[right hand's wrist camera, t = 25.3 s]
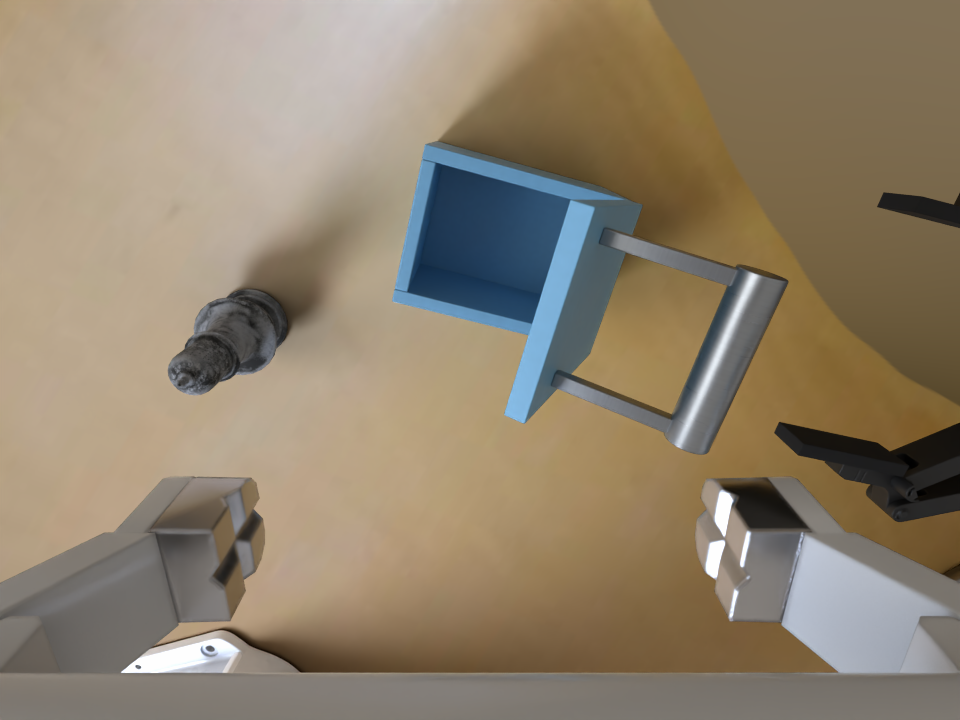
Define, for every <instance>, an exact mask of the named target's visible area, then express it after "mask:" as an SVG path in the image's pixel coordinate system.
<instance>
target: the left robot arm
mask: <svg viewBox="0 0 960 720" xmlns="http://www.w3.org/2000/svg"><path fill="white" fill-rule="evenodd" d="M877 207H879V208H883V209H887V210H891V211H895V212H899V213H903V214H907V215H911V216H915V217H919V218H923V219H926V220H931V221H934V222H938V223H942V224H946V225H950V226H954V227H958V228H960V194H959V196H958V198H957V200H956V202H955V204H954V205H953V204H949V203H945V202H941V201H937V200H933V199H929V198H926V197H921V196H912V195H903V194H893V193H883V195H882V197H881V200H880V202H879V204H878V206H877ZM774 433H775V434H776V435H777V436H778V437H779V438H780V439H781V440H782V441H783V442H785V443H786V444H787V445H788V446H789V447H790V448H791V449H792V450H793V451H794V452H795V453H796V454H797V455H799V456H804V457H809V458H814V459H818V460H823V461H825V463H826V464H827V465H828V466H829V467H830V468H832V469H833V470H834V471H835V472H836V473H837V474H838V475H840V476H841V477H843V478H844V479H846V480H851V481H856V482H861V483H866V484H871V485H870V486H869V487H868V488H867V490H866V495H867V496H868V497H869V498H870V499H871V500H872V501H873V502H874V503H875V504H876V505H878V506H879V507H880V508H881V509H882V510H883V511H884V512H886V513H887V514H888V515H889V516H890V517H891V518H893V519H894V520H895V521H897V522H904V521H909V520H914V519H919V518H924V517H929V516H934V515H939V514H944V513H949V512H954V511H958V510H960V423H958V424H956V425H953V426H951V427H948V428H946V429H943V430H941V431H939V432H936V433H934V434H931V435H929V436H927V437H924V438H922V439H919V440H917V441H914V442H912V443H910V444H907V445H905V446H902V447H900V448H898V449H895V450H893V451H888V450H887V449H885V448H884V447H883V446H881V445H880V444H878V443H876V442H871V441H866V440H862V439H857V438H852V437H847V436H843V435H838V434H833V433H829V432H824V431H819V430H814V429H810V428H805V427H800V426H796V425H791V424H786V423H782V422H779V424H778V426H777V428H776V430H775V432H774ZM943 575H944V576H946V577H948V578H950V579H952V580H954V581H957V582H959V583H960V566H958V567H956V568H954V569H952V570H950V571H948V572H946V573H945V574H943Z"/></svg>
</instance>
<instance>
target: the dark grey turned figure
mask: <svg viewBox="0 0 960 720" xmlns="http://www.w3.org/2000/svg"><path fill="white" fill-rule="evenodd" d="M286 333H287V319H286V315H285V312H284V311H283V309H282V307H281V306H280V304H279V303H278V302H277V301H276V300H275V299H274V298H272V297H271V296H269V295H268V294H266V293H264V292H261V291H258V290H253V289H244V290H238V291H236V292H234V293H232V294H230V295H229V296H228V297H227V298H222V299H217V300H215V301H213V302H210V303H208V304H207V305H206V306H205V307H204V308H203V309H202V310H201V311H200V312H199V314H198V316H197V318H196V320H195V325H194V335H193V336H192V337H191V338H189V339H188V341H187V343H186V344H185V349H184V350H183V351H182V352H180V353H179V354H178V355H176V356H175V357H174V358H173V359H172V361H171V362H170V364H169V367H168V376H169V378H170V381H171V382H172V384H173V385H174V386H175V387H176V388H177V389H178V390H180V391H182V392H183V393H186V394H189V395H201V394H204V393H206V392H208V391H210V390H211V389H212V388H213V387H214V386H215V385H216V384H217V383H218V382H221V381H226V380H228V379H230V378H232V377H233V376H234V375H235V374H238V375H245V374H252V373H255V372H257V371H259V370H262V369H263V368H264V367H265V366H266V365H268V364H269V363H270V361H271V359H272V358H273V356H274V354H275V351H276V348H277V347H278V346H280V345H281V343H282V342H283V340H284V339H285V337H286Z"/></svg>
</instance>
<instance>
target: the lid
mask: <svg viewBox="0 0 960 720" xmlns="http://www.w3.org/2000/svg"><path fill="white" fill-rule="evenodd" d="M642 206H643V205H642V204H639V203H636V202H632V201H629V200H571V201H570V203H569V207H568V210H567V213H566V216H565V220H564V223H563V226H562V229H561V233H560V236H559V239H558V242H557V245H556V249H555V252H554V255H553V258H552V262H551V265H550V268H549V271H548V275H547V278H546V281H545V284H544V287H543V291H542V294H541V297H540V300H539V304H538V307H537V310H536V313H535V317H534V320H533V323H532V326H531V329H530V333H529V336H528V339H527V342H526V346H525V349H524V352H523V355H522V359H521V362H520V365H519V368H518V371H517V375H516V378H515V381H514V384H513V388H512V391H511V394H510V397H509V400H508V404H507V407H506V410H505V413H504V415H505V416H508V417H510V418H512V419H515V420H517V421H519V422H521V423H524V424H525V423H526V422H527V421H528V420H529V419H530V417H531V416H532V415H533V414H534V413H535V412H536V411H537V410H538V409H539V408H540V407H541V406H542V405H543V404H544V402H545V401H546V400H547V399H548V398H549V397H550V396H551V395H552V394H553V393H554V392H555V391H556V390H557V389H560V390H562V391H564V392H567V393H569V394H572V395H574V396H577V397H579V398H581V399H584V400H586V401H589V402H591V403H594V404H596V405H599V406H601V407H603V408H606V409H608V410H611V411H613V412H616V413H618V414H620V415H623V416H625V417H628V418H630V419H633V420H635V421H638V422H640V423H642V424H645V425H647V426H650V427H652V428H655V429H657V430H660V431H662V432H664V435H665V437H666V439H667V440H668V441H669V442H671V443H672V444H673V445H675V446H676V447H678V448H680V449H682V450H685V451H687V452H690V453H694V454H700V455H703V454H707V453H708V452H709V450H710V448H711V446H712V444H713V442H714V439H715V437H716V435H717V433H718V431H719V429H720V427H721V425H722V422H723V420H724V418H725V416H726V414H727V412H728V410H729V408H730V405H731V403H732V401H733V399H734V397H735V395H736V393H737V391H738V388H739V386H740V384H741V382H742V380H743V378H744V376H745V374H746V371H747V369H748V367H749V365H750V363H751V361H752V359H753V357H754V354H755V352H756V350H757V348H758V346H759V344H760V342H761V340H762V337H763V335H764V333H765V331H766V329H767V327H768V325H769V323H770V320H771V318H772V316H773V314H774V312H775V310H776V308H777V306H778V303H779V301H780V299H781V297H782V295H783V293H784V291H785V289H786V287H787V284H788V280H786V279H785V278H782V277H780V276H778V275H775V274H772V273H769V272H766V271H763V270H760V269H757V268H753V267H749V266H745V265H736V267H732V266H729V265H726V264H723V263H720V262H717V261H713V260H710V259H707V258H704V257H701V256H697V255H694V254H691V253H688V252H685V251H681V250H678V249H675V248H672V247H669V246H666V245H662V244H659V243H656V242H653V241H650V240H646V239H643V238H640V237H637V236H634V235H632V234H633V231H634V229H635V226H636V223H637V220H638V217H639V215H640V212H641V209H642ZM626 253H628V254H631V255H634V256H637V257H641V258H644V259H647V260H650V261H653V262H656V263H659V264H662V265H665V266H668V267H671V268H674V269H678V270H681V271H684V272H687V273H690V274H693V275H696V276H699V277H702V278H705V279H708V280H712V281H715V282H718V283H721V284H724V285H727V288H726V290H725V293H724V295H723V297H722V300H721V302H720V304H719V307H718V309H717V311H716V314H715V316H714V318H713V320H712V323H711V325H710V327H709V330H708V332H707V334H706V337H705V339H704V341H703V344H702V346H701V348H700V351H699V353H698V355H697V358H696V360H695V362H694V365H693V367H692V369H691V371H690V374H689V376H688V378H687V381H686V383H685V385H684V388H683V390H682V392H681V395H680V397H679V399H678V402H677V404H676V406H675V409H674V411H673V413H672V414H669V413H667V412H664V411H662V410H659V409H657V408H654V407H652V406H649V405H647V404H644V403H642V402H639V401H637V400H634V399H632V398H629V397H627V396H624V395H622V394H619V393H617V392H614V391H612V390H609V389H607V388H604V387H602V386H599V385H597V384H594V383H592V382H589V381H587V380H584V379H582V378H579V377H577V376H574V375H571V374H572V372H573V371H574V370H575V369H576V368H577V367H578V366H579V365H580V364H581V363H582V362H583V361H584V360H585V359H586V357H587V356H588V355H589V354H590V352H591V349H592V346H593V344H594V341H595V338H596V335H597V332H598V330H599V327H600V324H601V321H602V318H603V316H604V313H605V310H606V307H607V304H608V302H609V299H610V296H611V293H612V290H613V288H614V285H615V282H616V279H617V276H618V274H619V271H620V268H621V265H622V262H623V259H624V257H625V254H626Z"/></svg>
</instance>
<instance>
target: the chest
mask: <svg viewBox="0 0 960 720" xmlns="http://www.w3.org/2000/svg"><path fill="white" fill-rule="evenodd" d="M422 158H423V159H422V162H421V167H420V172H419V176H418V181H417V186H416V191H415V195H414V200H413V205H412V210H411V214H410V219H409V224H408V229H407V233H406V238H405V243H404V247H403V252H402V257H401V262H400V266H399V271H398V276H397V281H396V285H395V290H394V295H393V299H392V301H393V302H397V303H401V304H405V305H409V306H413V307H417V308H421V309H425V310H429V311H433V312H437V313H441V314H445V315H449V316H453V317H457V318H461V319H465V320H469V321H473V322H478V323H482V324H486V325H490V326H494V327H498V328H502V329H506V330H510V331H514V332H518V333H522V334H526V335H529V333H530V329H531V326H532V323H533V320H534V317H535V313H536V310H537V307H538V304H539V300H540V297H541V294H542V291H543V287H544V284H545V281H546V278H547V275H548V271H549V268H550V265H551V262H552V258H553V255H554V252H555V249H556V245H557V242H558V239H559V236H560V233H561V229H562V226H563V223H564V220H565V216H566V213H567V210H568V207H569V203H570V201H571V200H629V199H626V198H624V197H622V196H620V195H618V194H616V193H614V192H612V191H609V190H607V189H605V188H603V187H601V186H597V185H594V184H590V183H586V182H583V181H579V180H576V179H572V178H568V177H565V176H561V175H558V174H554V173H550V172H547V171H543V170H539V169H536V168H532V167H529V166H525V165H521V164H518V163H514V162H511V161H507V160H503V159H500V158H496V157H493V156H489V155H485V154H482V153H478V152H475V151H471V150H467V149H464V148H460V147H456V146H453V145H449V144H446V143H442V142H438V141H436V142H432V143H428V144H425V148H424V152H423V157H422ZM629 201H631V200H629Z"/></svg>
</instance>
